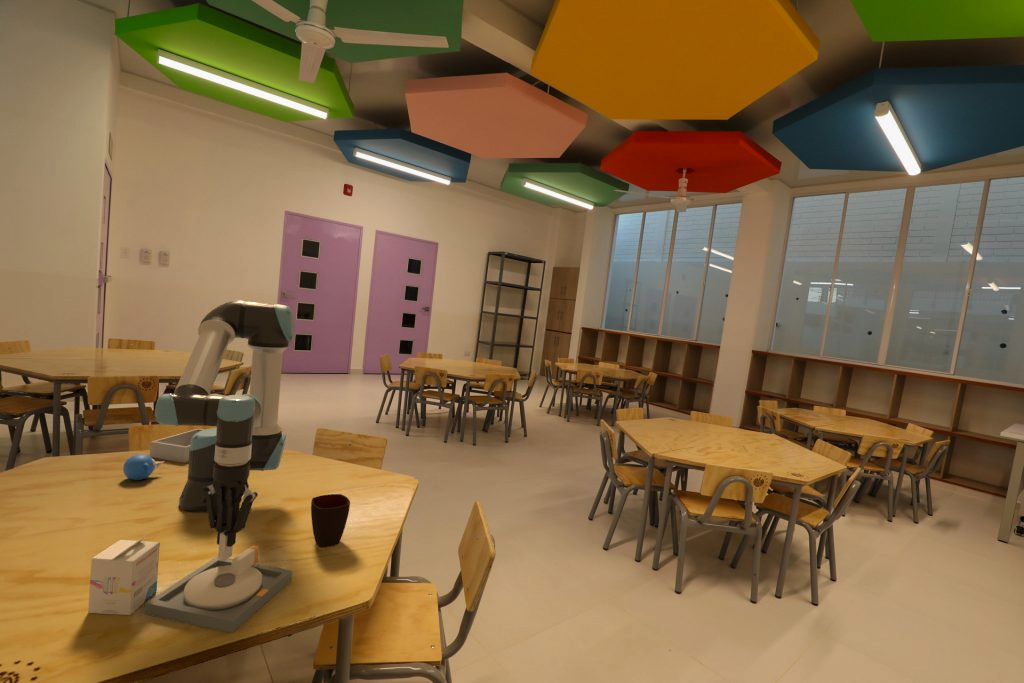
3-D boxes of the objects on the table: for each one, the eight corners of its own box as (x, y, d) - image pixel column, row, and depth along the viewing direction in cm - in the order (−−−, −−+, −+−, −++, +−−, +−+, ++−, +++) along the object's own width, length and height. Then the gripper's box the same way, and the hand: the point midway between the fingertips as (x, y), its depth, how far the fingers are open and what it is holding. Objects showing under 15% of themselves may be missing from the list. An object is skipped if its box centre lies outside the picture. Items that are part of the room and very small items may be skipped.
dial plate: (144, 614, 99) (145, 602, 99) (216, 565, 119) (217, 555, 119) (232, 633, 97) (233, 620, 97) (291, 580, 117) (292, 569, 116)
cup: (313, 554, 129) (317, 510, 129) (300, 532, 140) (304, 492, 140) (350, 546, 135) (354, 505, 135) (335, 526, 146) (338, 487, 146)
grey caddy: (149, 457, 185) (150, 441, 185) (196, 442, 208) (197, 428, 208) (184, 462, 183) (185, 447, 183) (228, 447, 206) (229, 433, 206)
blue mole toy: (172, 478, 168) (173, 454, 167) (130, 487, 158) (132, 461, 157) (156, 469, 174) (158, 446, 174) (116, 477, 164) (117, 452, 164)
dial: (230, 615, 99) (232, 591, 99) (165, 602, 102) (167, 578, 101) (282, 572, 117) (284, 551, 116) (226, 561, 119) (227, 540, 119)
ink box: (117, 589, 106) (121, 530, 106) (157, 591, 107) (161, 533, 106) (86, 614, 98) (90, 550, 97) (130, 616, 98) (134, 552, 98)
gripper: (195, 461, 111) (188, 560, 112) (246, 470, 109) (238, 570, 111) (219, 453, 119) (212, 546, 120) (267, 461, 117) (260, 555, 118)
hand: (224, 557), depth 115 cm, fingers closed
